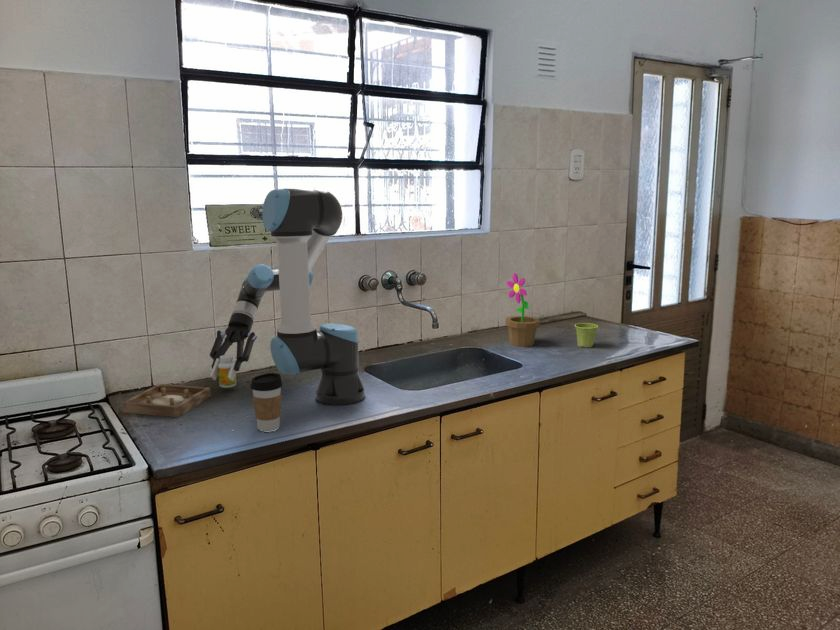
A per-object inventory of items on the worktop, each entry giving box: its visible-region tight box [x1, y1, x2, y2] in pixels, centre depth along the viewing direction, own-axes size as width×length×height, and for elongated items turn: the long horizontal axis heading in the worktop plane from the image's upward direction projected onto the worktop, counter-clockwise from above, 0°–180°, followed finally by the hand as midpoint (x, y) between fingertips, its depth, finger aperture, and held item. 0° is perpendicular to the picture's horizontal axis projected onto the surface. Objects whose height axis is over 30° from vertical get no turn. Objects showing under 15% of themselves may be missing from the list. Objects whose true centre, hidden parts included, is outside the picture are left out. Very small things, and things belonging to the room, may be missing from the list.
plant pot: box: [574, 322, 599, 349], centre depth 265 cm, size 9×9×9 cm
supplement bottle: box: [218, 354, 237, 388], centre depth 208 cm, size 5×5×10 cm
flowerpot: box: [504, 272, 541, 348], centre depth 265 cm, size 14×14×30 cm
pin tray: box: [121, 383, 211, 418], centre depth 196 cm, size 18×18×4 cm
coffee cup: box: [250, 372, 283, 431], centre depth 177 cm, size 8×8×15 cm
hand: (221, 378), depth 205 cm, fingers closed on supplement bottle, 5 cm apart
